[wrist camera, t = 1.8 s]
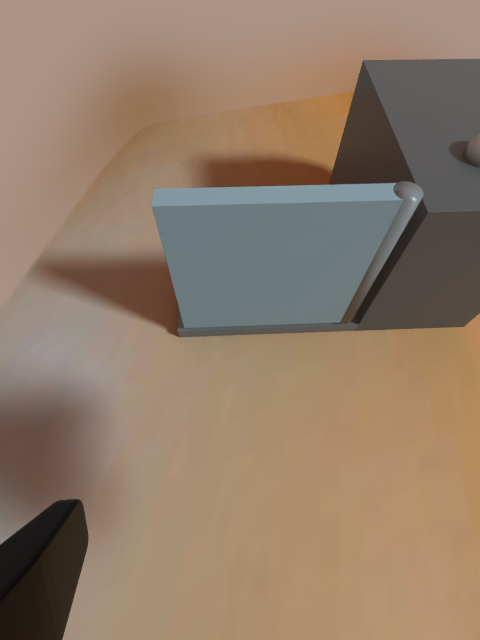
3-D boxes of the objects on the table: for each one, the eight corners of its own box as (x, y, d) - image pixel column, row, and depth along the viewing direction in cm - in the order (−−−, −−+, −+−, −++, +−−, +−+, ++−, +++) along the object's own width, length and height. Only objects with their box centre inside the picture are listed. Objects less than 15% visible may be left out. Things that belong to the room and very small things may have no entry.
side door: (354, 323, 23) (427, 201, 14) (184, 329, 22) (151, 208, 14) (350, 307, 23) (418, 180, 15) (184, 313, 23) (154, 187, 14)
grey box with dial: (463, 326, 24) (615, 196, 15) (179, 337, 24) (139, 208, 14) (407, 188, 31) (485, 37, 21) (185, 193, 30) (161, 40, 21)
